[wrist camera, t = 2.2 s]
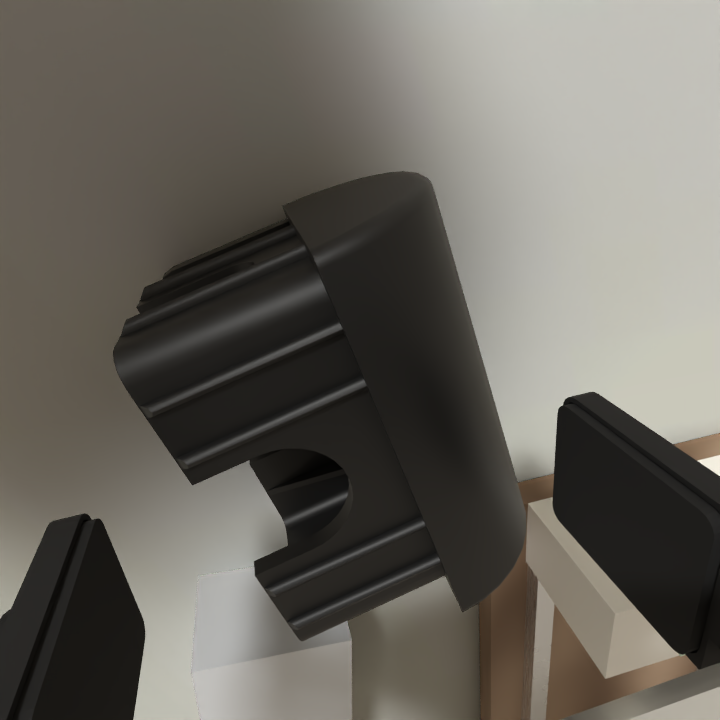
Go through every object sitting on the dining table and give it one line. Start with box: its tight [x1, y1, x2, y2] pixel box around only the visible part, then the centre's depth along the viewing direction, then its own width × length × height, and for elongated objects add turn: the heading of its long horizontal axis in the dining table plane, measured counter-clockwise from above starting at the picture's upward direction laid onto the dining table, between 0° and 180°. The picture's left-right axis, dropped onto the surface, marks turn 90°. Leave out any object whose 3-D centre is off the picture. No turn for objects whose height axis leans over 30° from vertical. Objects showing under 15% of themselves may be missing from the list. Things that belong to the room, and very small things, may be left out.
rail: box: [521, 498, 699, 720], centre depth 24 cm, size 11×20×1 cm, turn 7°
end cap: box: [113, 171, 526, 642], centre depth 14 cm, size 10×7×7 cm
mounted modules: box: [526, 455, 720, 679], centre depth 22 cm, size 11×20×5 cm, turn 7°
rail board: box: [479, 433, 720, 720], centre depth 25 cm, size 14×20×1 cm
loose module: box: [191, 567, 352, 720], centre depth 20 cm, size 5×8×4 cm, turn 0°
